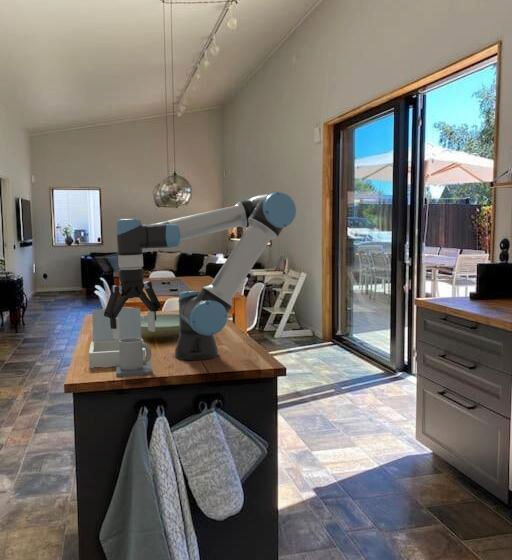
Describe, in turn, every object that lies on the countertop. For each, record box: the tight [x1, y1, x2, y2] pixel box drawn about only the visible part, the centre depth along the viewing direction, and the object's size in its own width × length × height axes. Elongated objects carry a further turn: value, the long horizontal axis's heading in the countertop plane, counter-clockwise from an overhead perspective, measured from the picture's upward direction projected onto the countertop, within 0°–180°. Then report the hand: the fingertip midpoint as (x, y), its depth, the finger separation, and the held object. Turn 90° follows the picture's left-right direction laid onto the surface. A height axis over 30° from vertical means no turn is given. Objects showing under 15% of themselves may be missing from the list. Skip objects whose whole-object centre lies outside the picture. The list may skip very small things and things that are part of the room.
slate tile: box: [115, 362, 154, 378], centre depth 180 cm, size 11×11×1 cm
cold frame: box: [88, 307, 146, 369], centre depth 196 cm, size 23×18×16 cm
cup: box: [119, 338, 152, 370], centre depth 179 cm, size 7×10×9 cm
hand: (134, 334), depth 178 cm, fingers open, 13 cm apart
